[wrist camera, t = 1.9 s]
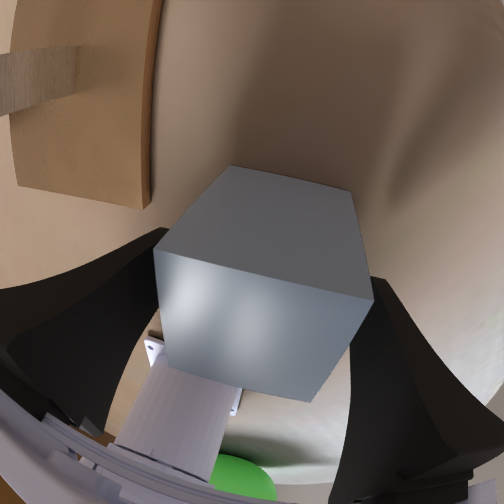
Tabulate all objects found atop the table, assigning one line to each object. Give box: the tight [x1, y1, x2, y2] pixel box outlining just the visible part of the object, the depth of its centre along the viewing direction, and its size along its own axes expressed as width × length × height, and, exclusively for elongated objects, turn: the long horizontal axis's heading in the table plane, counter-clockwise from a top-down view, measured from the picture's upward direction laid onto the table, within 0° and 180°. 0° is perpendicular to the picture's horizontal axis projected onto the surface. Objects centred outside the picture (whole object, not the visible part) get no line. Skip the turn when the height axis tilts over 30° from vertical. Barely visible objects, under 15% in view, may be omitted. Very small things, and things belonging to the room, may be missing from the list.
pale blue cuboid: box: [153, 165, 374, 402], centre depth 10 cm, size 5×5×7 cm
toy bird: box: [209, 454, 277, 501], centre depth 31 cm, size 18×17×15 cm
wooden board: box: [0, 0, 163, 210], centre depth 8 cm, size 14×11×6 cm
